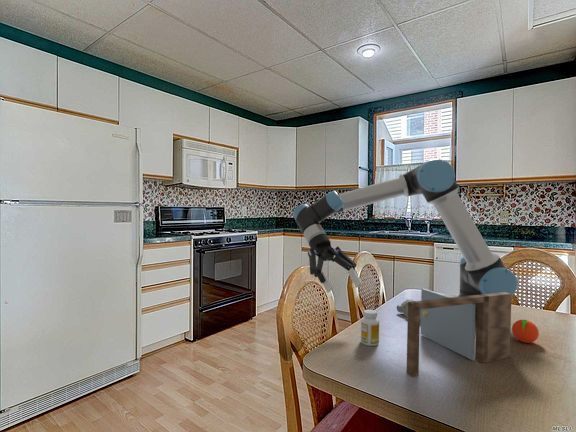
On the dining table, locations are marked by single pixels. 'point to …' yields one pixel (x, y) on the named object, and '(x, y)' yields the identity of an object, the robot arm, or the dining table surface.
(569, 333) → the dining table surface
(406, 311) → the mineral specimen
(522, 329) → the clementine
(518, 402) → the dining table surface
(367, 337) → the supplement bottle
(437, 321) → the door
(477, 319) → the door frame
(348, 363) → the dining table surface
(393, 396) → the dining table surface
